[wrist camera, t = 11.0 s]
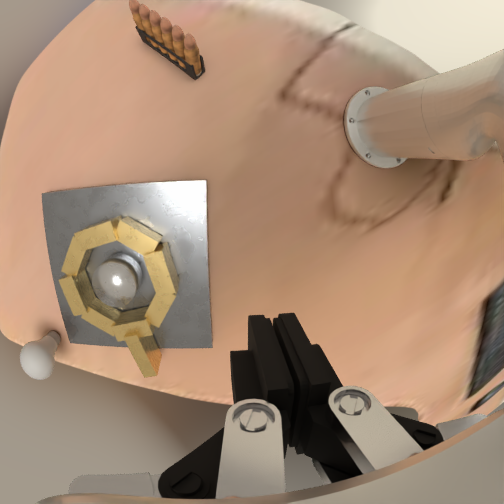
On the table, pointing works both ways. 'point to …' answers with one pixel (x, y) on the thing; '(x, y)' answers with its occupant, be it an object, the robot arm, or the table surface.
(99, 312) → the ring nut
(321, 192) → the table surface
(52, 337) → the lightbulb
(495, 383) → the table surface
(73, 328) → the housing
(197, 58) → the ammunition clip
